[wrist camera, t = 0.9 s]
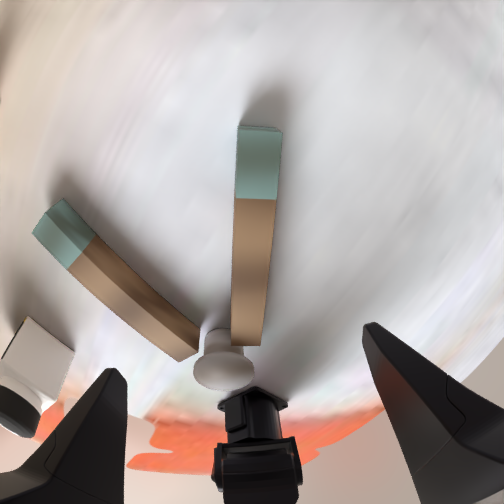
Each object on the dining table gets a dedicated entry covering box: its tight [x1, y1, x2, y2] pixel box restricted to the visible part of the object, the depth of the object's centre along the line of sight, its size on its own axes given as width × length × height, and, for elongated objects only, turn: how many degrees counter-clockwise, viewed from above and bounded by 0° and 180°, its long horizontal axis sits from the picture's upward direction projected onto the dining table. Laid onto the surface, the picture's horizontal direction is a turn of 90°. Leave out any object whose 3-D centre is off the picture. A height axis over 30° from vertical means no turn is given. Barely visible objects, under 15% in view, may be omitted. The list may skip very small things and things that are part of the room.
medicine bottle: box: [0, 316, 75, 438], centre depth 21 cm, size 7×7×12 cm
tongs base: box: [32, 199, 254, 391], centre depth 21 cm, size 22×6×4 cm, turn 36°
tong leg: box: [230, 126, 283, 346], centre depth 20 cm, size 16×2×3 cm, turn 176°
